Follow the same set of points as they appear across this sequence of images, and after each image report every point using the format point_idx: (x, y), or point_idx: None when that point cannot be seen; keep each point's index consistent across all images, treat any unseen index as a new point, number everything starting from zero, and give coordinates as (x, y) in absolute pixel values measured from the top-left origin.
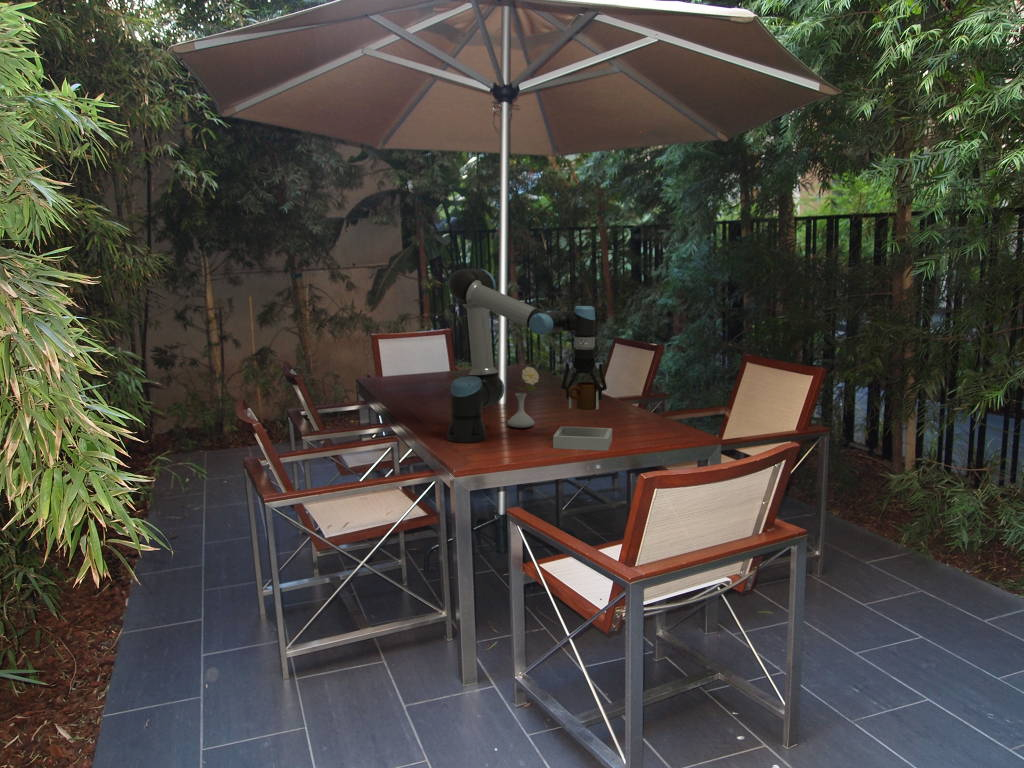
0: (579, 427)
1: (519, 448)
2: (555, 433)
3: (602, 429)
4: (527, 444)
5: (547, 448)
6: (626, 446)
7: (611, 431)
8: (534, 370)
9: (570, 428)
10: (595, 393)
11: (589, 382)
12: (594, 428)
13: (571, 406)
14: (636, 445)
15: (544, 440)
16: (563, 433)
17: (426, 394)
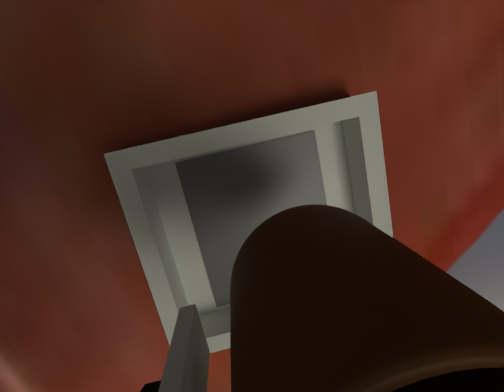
0: (211, 142)
1: (72, 378)
2: (160, 313)
3: (330, 122)
4: (63, 316)
5: (164, 336)
6: (425, 186)
7: (378, 136)
8: None
9: (168, 160)
10: (475, 389)
11: (465, 367)
12: (291, 131)
13: (201, 332)
14: (459, 154)
15: (88, 227)
16: (141, 169)
17: None
